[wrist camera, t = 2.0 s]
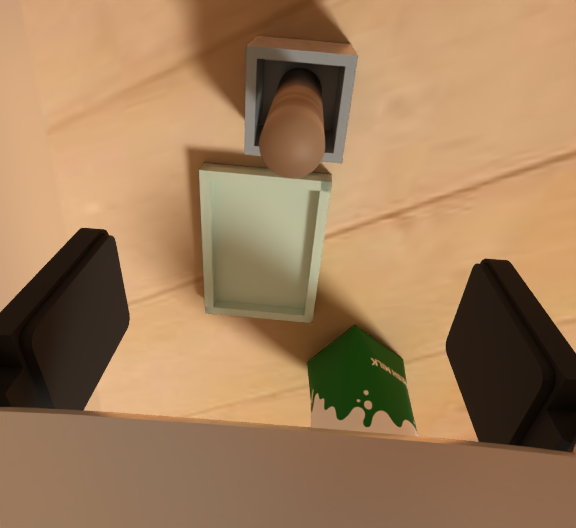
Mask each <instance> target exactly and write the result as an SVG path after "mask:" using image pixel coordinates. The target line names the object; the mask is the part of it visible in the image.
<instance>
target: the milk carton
mask: <svg viewBox="0 0 576 528" xmlns="http://www.w3.org/2000/svg"><path fill="white" fill-rule="evenodd" d="M307 366H308V376H309V387H310V397H311V428H323V429H336V430H348V431H360V432H372V433H384V434H395V435H407V436H418V434H417V430H416V425H415V421H414V417H413V412H412V408H411V403H410V399H409V394H408V388H407V382H406V375H405V369H404V362H403V359H402V358H400V357H399V356H398V355H396V354H395V353H393V352H392V351H391V350H389V349H388V348H386V347H385V346H384V345H382V344H381V343H379V342H378V341H377V340H375V339H374V338H373V337H371V336H370V335H368V334H367V333H366V332H364V331H363V330H361V329H360V328H359V327H357V326H356V325H354V326H353V327H352V328H350V329H349V330H348V331H347V332H345V333H344V334H343V335H341V336H340V337H339V338H338V339H336V340H335V341H334V342H332V343H331V344H330V345H329V346H327V347H326V348H325V349H323V350H322V351H321V352H320V353H318V354H317V355H316V356H314V357H313V358H312V359H311V360H309V361H308V362H307Z"/></svg>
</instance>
